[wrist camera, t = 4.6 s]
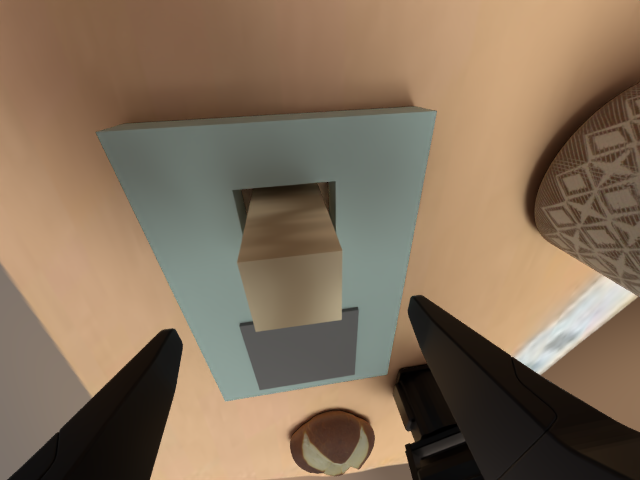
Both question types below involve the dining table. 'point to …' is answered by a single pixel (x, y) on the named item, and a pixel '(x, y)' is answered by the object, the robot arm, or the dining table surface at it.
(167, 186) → the pocket board
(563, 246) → the planter
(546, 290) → the dining table surface
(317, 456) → the bread
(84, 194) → the dining table surface
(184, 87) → the dining table surface
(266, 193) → the maple block
